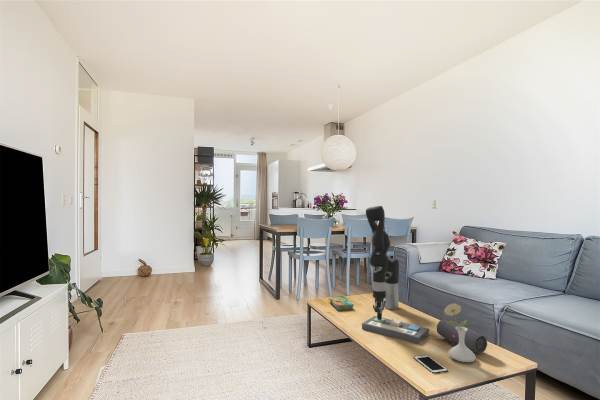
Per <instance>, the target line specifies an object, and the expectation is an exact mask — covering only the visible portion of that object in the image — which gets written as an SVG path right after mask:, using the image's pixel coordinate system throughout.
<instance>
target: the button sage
mask: <svg viewBox="0 0 600 400" xmlns="http://www.w3.org/2000/svg"><path fill="white" fill-rule="evenodd" d="M383 318H384V317H382V319H377V318H375V319H374V322H378V323H383V322H385V319H383Z"/></svg>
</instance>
